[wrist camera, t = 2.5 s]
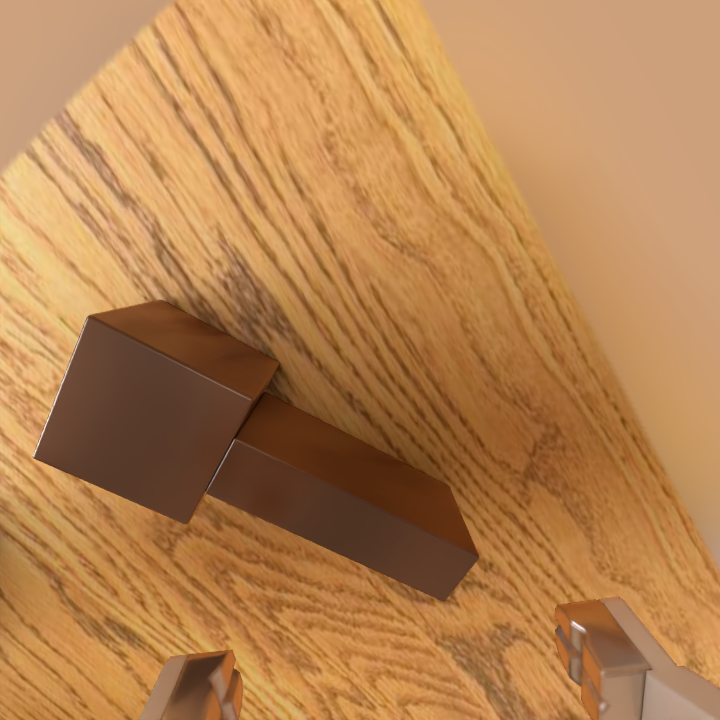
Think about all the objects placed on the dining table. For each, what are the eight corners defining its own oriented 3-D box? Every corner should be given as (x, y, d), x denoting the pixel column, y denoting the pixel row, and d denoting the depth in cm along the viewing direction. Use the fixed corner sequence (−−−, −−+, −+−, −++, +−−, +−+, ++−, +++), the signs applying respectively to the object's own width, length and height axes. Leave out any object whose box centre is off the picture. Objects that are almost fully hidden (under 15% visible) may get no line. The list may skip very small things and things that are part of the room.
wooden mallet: (467, 461, 16) (504, 526, 12) (406, 545, 17) (422, 629, 13) (160, 298, 14) (86, 314, 10) (113, 406, 15) (30, 458, 11)
